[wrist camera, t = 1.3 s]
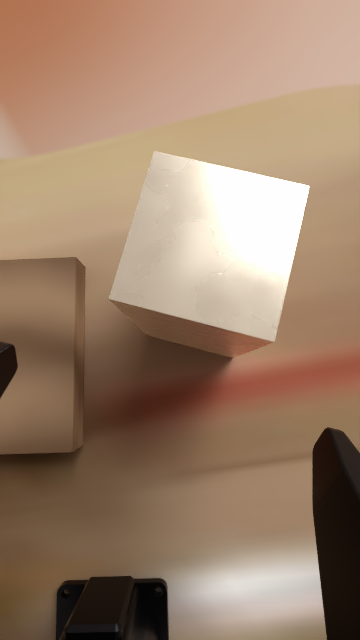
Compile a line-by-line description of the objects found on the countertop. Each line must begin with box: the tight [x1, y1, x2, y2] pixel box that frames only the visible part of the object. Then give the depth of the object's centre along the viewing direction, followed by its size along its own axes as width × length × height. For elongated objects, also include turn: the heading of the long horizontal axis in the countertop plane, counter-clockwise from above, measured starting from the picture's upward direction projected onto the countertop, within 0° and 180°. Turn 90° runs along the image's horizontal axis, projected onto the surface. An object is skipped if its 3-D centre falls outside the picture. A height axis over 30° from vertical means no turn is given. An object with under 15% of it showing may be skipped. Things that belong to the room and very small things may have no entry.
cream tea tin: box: [109, 151, 309, 358], centre depth 18 cm, size 6×6×11 cm
